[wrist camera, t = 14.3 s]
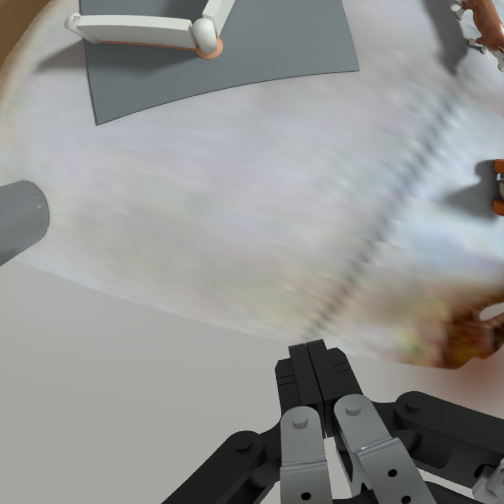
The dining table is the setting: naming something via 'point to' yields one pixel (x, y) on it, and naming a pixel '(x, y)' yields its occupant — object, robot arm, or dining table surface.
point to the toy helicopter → (500, 205)
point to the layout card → (226, 56)
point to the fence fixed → (145, 30)
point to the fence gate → (218, 13)
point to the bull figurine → (486, 27)
